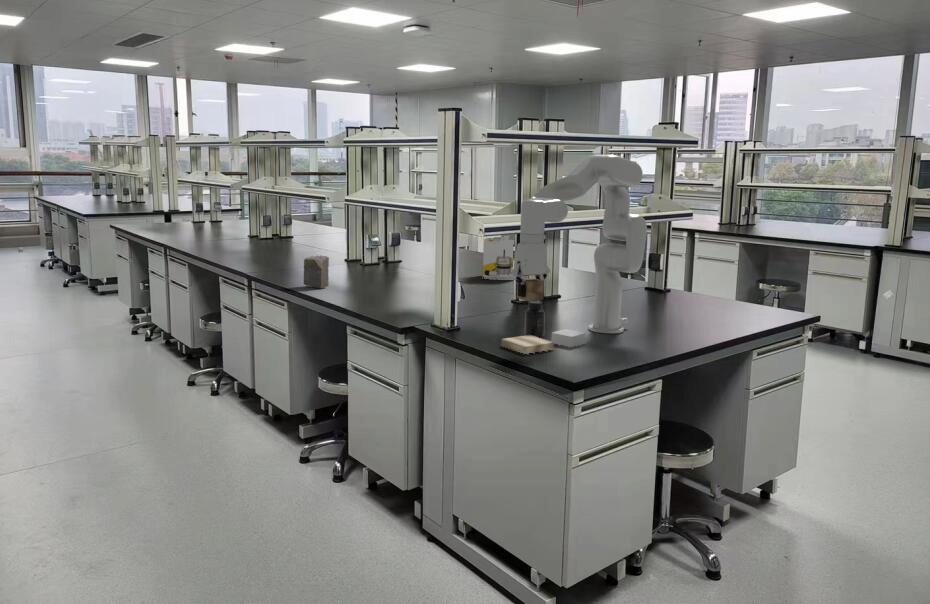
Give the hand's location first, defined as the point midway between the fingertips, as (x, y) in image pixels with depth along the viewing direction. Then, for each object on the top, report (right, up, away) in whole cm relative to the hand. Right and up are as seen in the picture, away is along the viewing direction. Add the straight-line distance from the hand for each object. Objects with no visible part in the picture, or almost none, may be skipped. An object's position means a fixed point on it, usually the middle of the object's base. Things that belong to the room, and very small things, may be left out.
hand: (529, 295), depth 225 cm
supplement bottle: (+3, -14, +20) cm, 25 cm away
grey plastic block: (+14, -16, +11) cm, 24 cm away
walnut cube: (0, -1, 0) cm, 1 cm away
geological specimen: (-91, +4, +106) cm, 140 cm away
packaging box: (-3, +10, +148) cm, 149 cm away
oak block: (-1, -18, +3) cm, 18 cm away
